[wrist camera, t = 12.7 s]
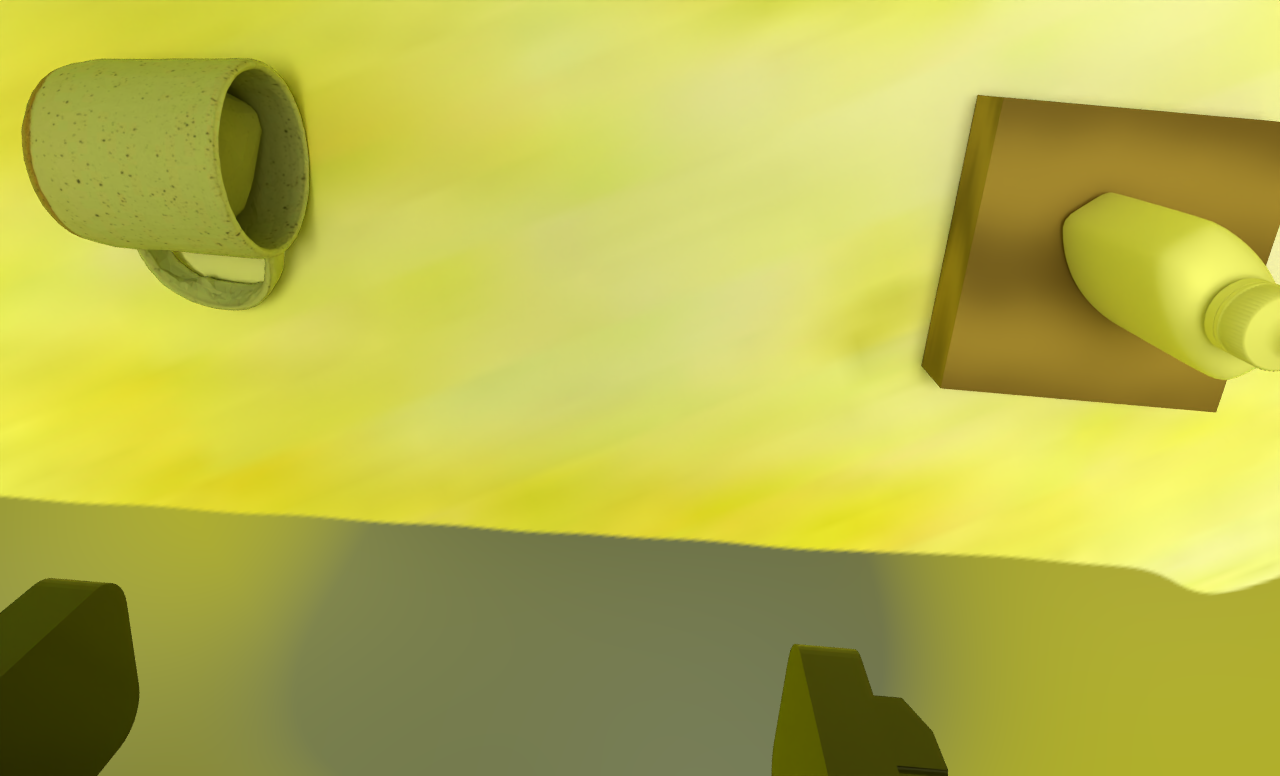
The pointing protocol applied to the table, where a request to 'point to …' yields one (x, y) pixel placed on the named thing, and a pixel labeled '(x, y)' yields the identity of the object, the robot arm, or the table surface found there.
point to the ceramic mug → (173, 164)
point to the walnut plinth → (1034, 252)
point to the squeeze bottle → (1176, 284)
